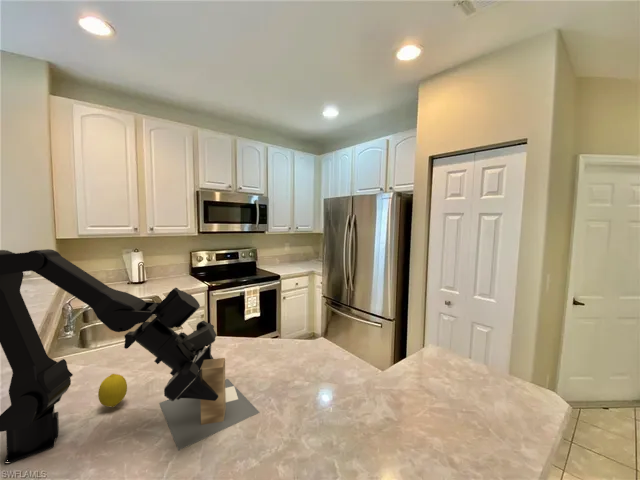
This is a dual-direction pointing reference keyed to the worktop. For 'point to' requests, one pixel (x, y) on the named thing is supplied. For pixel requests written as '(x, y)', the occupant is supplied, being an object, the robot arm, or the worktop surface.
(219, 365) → the oak block
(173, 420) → the mat
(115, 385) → the lemon
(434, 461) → the worktop surface
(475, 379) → the worktop surface
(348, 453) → the worktop surface
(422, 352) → the worktop surface
